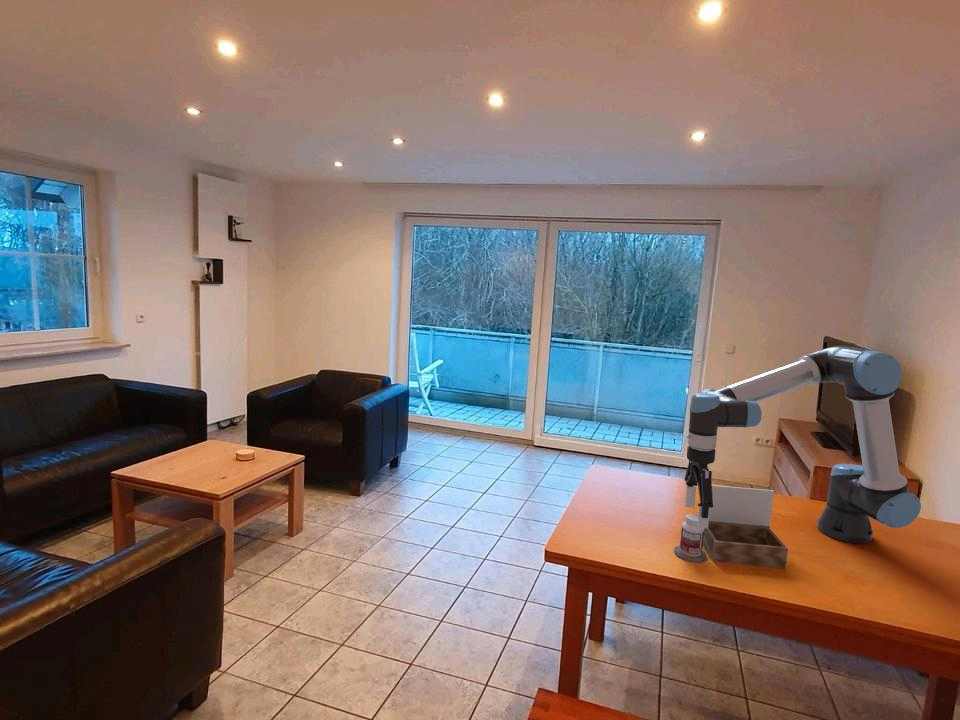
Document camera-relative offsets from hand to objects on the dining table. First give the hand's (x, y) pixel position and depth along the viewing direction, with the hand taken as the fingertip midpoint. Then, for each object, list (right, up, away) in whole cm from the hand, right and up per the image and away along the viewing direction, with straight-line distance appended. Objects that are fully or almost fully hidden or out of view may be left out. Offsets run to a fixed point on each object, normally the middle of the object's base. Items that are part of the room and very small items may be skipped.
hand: (695, 516), depth 157 cm
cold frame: (+15, -12, +5) cm, 20 cm away
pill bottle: (-1, -11, +2) cm, 11 cm away
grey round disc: (-1, -12, +2) cm, 12 cm away
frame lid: (+16, -5, +9) cm, 19 cm away
